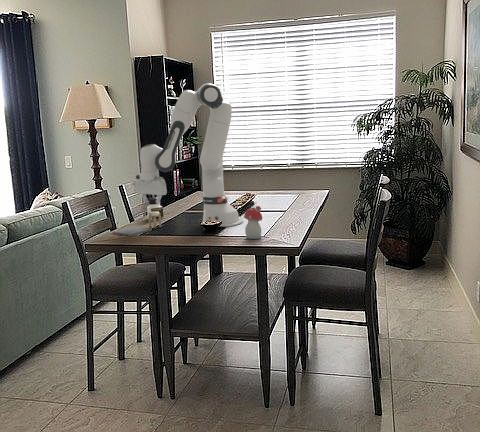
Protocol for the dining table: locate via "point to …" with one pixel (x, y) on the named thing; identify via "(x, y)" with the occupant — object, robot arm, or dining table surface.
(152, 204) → the medicine bottle
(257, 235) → the decorative ornament
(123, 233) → the mat
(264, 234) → the dining table surface
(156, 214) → the mini stool
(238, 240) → the dining table surface
